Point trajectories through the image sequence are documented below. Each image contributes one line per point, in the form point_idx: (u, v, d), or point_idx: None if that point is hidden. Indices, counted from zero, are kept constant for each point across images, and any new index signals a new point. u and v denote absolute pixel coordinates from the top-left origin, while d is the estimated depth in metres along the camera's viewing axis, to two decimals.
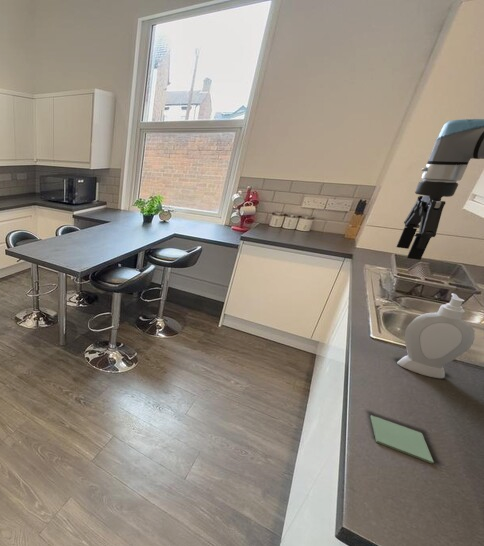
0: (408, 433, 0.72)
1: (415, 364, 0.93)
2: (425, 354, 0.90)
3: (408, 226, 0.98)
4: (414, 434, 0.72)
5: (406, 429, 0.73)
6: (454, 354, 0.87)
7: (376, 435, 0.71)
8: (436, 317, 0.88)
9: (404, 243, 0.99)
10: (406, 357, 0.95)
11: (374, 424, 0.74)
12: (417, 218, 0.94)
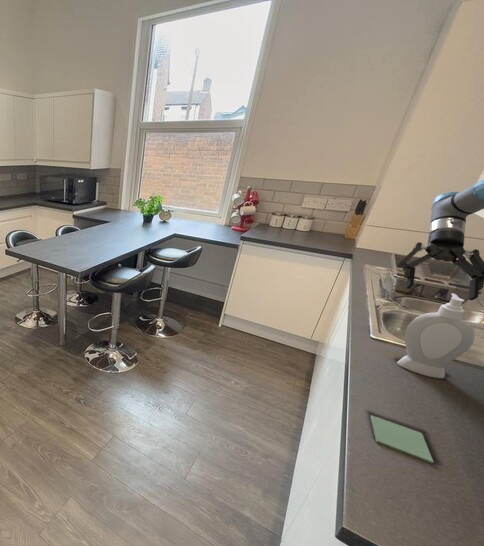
0: (408, 433, 0.72)
1: (415, 364, 0.93)
2: (425, 354, 0.90)
3: None
4: (414, 434, 0.72)
5: (406, 429, 0.73)
6: (454, 354, 0.87)
7: (376, 435, 0.71)
8: (436, 317, 0.88)
9: None
10: (406, 357, 0.95)
11: (374, 424, 0.74)
12: (422, 262, 1.00)
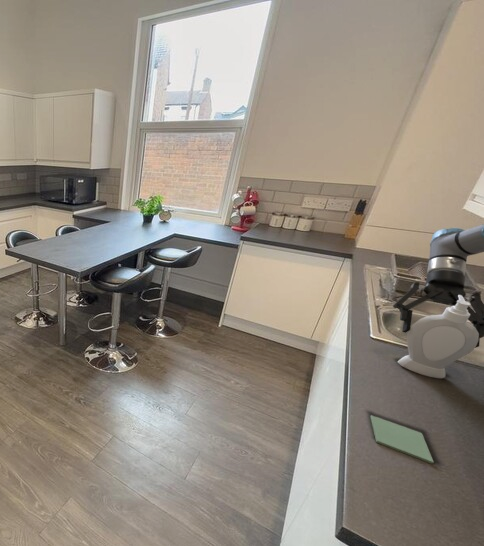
0: (408, 433, 0.72)
1: (415, 364, 0.93)
2: (426, 355, 0.90)
3: None
4: (414, 434, 0.72)
5: (406, 429, 0.73)
6: (456, 356, 0.87)
7: (376, 435, 0.71)
8: (440, 320, 0.86)
9: None
10: (407, 357, 0.94)
11: (374, 424, 0.74)
12: (419, 303, 0.94)
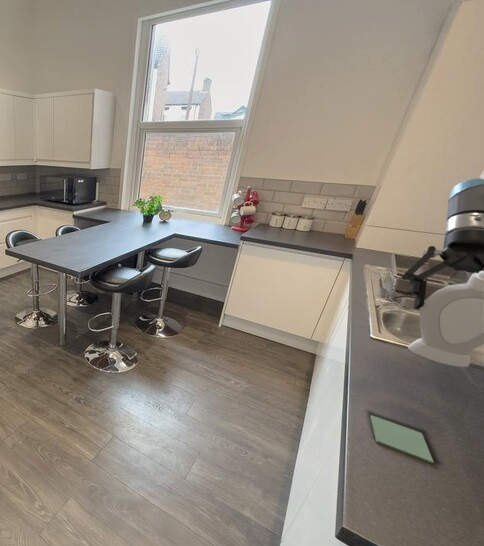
0: (408, 433, 0.72)
1: (431, 349, 0.72)
2: (445, 337, 0.70)
3: None
4: (414, 434, 0.72)
5: (406, 429, 0.73)
6: None
7: (376, 435, 0.71)
8: (464, 290, 0.66)
9: None
10: (420, 340, 0.74)
11: (374, 424, 0.74)
12: (436, 272, 0.74)
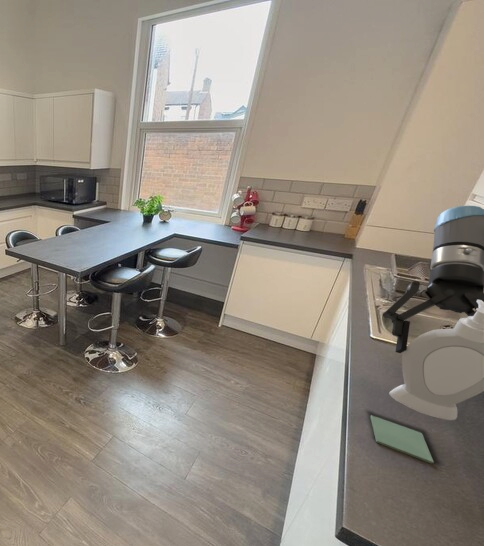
0: (408, 433, 0.72)
1: (414, 399, 0.65)
2: (430, 388, 0.62)
3: None
4: (414, 434, 0.72)
5: (406, 429, 0.73)
6: (474, 390, 0.59)
7: (376, 435, 0.71)
8: (450, 337, 0.58)
9: None
10: (402, 387, 0.67)
11: (374, 424, 0.74)
12: (420, 311, 0.66)
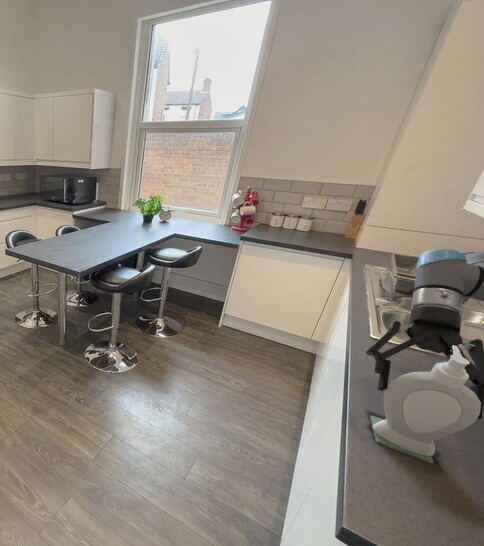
0: None
1: (395, 435, 0.68)
2: (409, 426, 0.66)
3: None
4: None
5: None
6: (449, 430, 0.62)
7: (376, 435, 0.71)
8: (427, 381, 0.62)
9: None
10: (384, 423, 0.70)
11: None
12: None
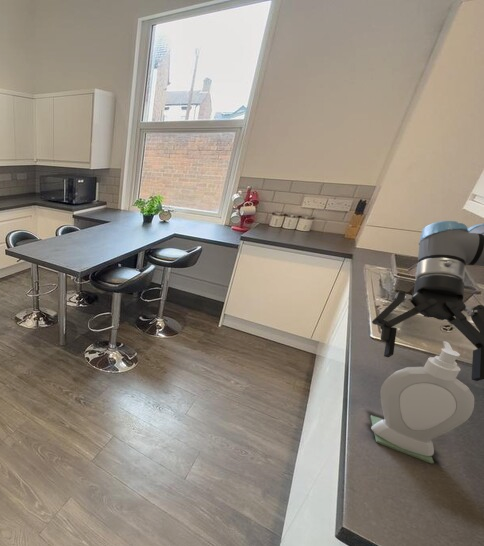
0: None
1: (393, 434, 0.69)
2: (406, 423, 0.66)
3: None
4: None
5: None
6: (446, 426, 0.63)
7: (376, 435, 0.71)
8: (421, 375, 0.64)
9: None
10: (382, 422, 0.71)
11: None
12: None
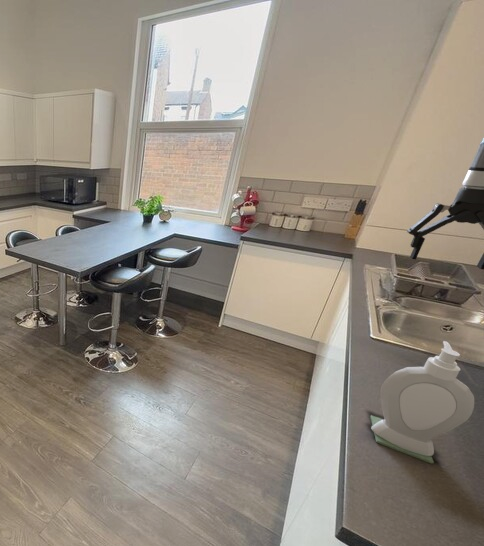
0: None
1: (393, 434, 0.69)
2: (406, 423, 0.66)
3: None
4: None
5: None
6: (446, 426, 0.63)
7: (376, 435, 0.71)
8: (421, 375, 0.64)
9: None
10: (382, 422, 0.71)
11: None
12: None
